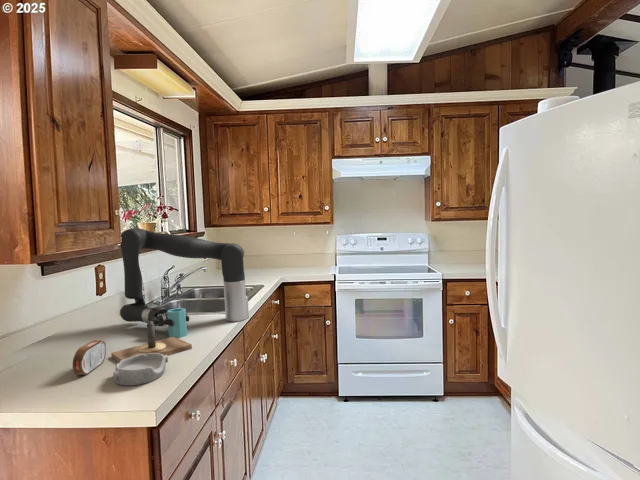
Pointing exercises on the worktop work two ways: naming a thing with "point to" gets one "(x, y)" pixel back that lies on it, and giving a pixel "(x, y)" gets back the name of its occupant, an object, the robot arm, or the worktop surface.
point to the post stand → (153, 346)
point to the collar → (177, 322)
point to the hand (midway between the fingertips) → (180, 321)
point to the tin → (89, 357)
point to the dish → (140, 369)
